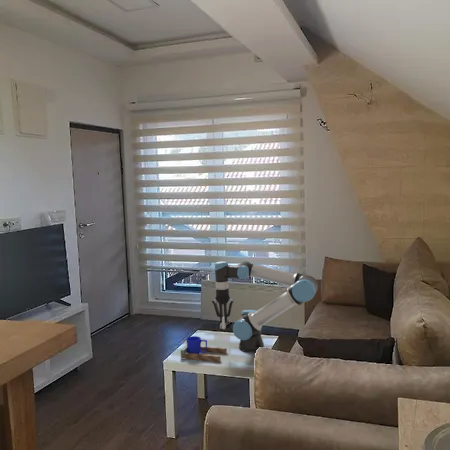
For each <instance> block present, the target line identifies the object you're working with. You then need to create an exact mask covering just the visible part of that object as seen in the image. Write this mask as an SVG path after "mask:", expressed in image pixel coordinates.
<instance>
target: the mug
mask: <svg viewBox="0 0 450 450" xmlns="http://www.w3.org/2000/svg"><path fill="white" fill-rule="evenodd" d="M185 340H186V345H187V350H188V353H196V354H205V353H206V352H205V351H206V348H207V346H208V340H207V339H202V338H201V336H197V335H195V336H194V335H192V336H189V337H187V338H186V339H185ZM202 342H205V346H206V347H205V351H204V352H201V346H202V345H201V344H202Z"/></svg>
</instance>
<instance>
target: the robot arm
mask: <svg viewBox="0 0 450 450" xmlns="http://www.w3.org/2000/svg"><path fill="white" fill-rule="evenodd" d="M228 263H229V262H227V261H217V262H215V263H214V276H215V298H214V299H213V300H212V301H211V303H212V304H213V306H214V310H215V314H216V317H219V319H220V320H219V321H220V322H219V323H220V324H221V326H222V327H221V328H222V329H223V330H225V329H226V328H227V325H226V324H227V323H228V318H229V317H230V316H231V313H232V312H231V311H232V306H233V303H234V301H235V300H234V299H232V298H231V297H230V289H229V287H230V286H229V285H230V284H229V283H230V282H229V279H235V280H237V279H240V280H244V279H248V278H249V277H252V278H256V279H259V280H263V281H267V282H272V283H276V284H278V285H279V284H280V285H284V286H287V290H286V291H285V292H283V294H280V295H279V296H277V297H276V298H274V299H273V300H272V301H270V302H268V303H266V304H265V305H264V306H262V307H261V308H259V309H258V310H257V309H243V310H241V313H240V316H241V317H239V318H238V320H236V321H235V322H234V324H233V325H232V332H233V335H234V336H235V337H236V338H237V339H239V340H240V341H239V344H238V349H239V350H240V351H243V352H246V353H247V352H248V353H256V350H257V349H258V348H259V347H264V348H265V343H264V340H263V337H262V327H263V326H264V325H266V324H267V323H270V322H271V321H273V320H274V319H275V318H277V317H278V316H280V315H282V314H283V313H284V312H286V311H287V310H290V309H291V308H292V307H294V306H302V304H304V303H306V302H309V301H311V300H313V298H314V296H315V295H316V293H317V292H318V289H319V284H318V280H317V279H316V278H315V277H314V276H312V275H308V274H304V273H300V272H296V273H292V272H289V271H288V272H287V271H284V270H279V269H275V268H271V267H267V266H262V265H258V264H254V263H251V262H250V261H248V260H246V261H243V262H240V263H238V264H236V265H229V264H228ZM228 302H229V305H228ZM217 303H218V304H217ZM227 305H228V306H227ZM218 306H219V307H218ZM227 307H228V308H227ZM223 314H224V315H223Z"/></svg>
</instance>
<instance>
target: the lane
mask: <svg viewBox="0 0 450 450" xmlns="http://www.w3.org/2000/svg"><path fill="white" fill-rule="evenodd" d="M205 347H206V345H201V352H204V351H205ZM205 353H207V354H205ZM205 353H200V354H196V353H188V350H187V344H185V345H184V346H183V347H182V348H181V349H180V359H181V358H185V359H184V360H191V359H192V360H193V361H195V360H196V361H201V362H202V361H203V362H205V361H206V362H215V363H220V362H221V354H222V355H227V347H221V346H208V345H207V348H206V351H205ZM217 354H218V355H217ZM219 354H220V355H219Z"/></svg>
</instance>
